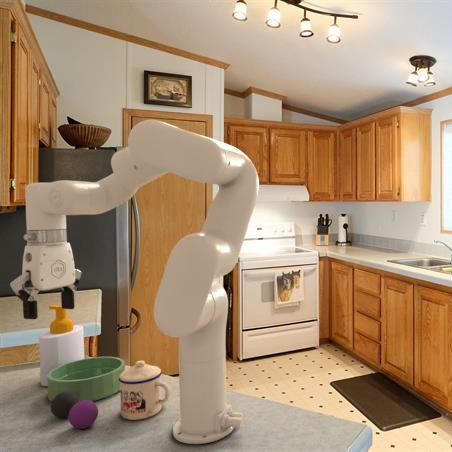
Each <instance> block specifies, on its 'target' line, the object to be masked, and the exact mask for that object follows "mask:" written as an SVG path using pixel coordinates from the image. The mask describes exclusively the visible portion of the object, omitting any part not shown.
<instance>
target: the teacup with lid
mask: <svg viewBox="0 0 452 452" xmlns="http://www.w3.org/2000/svg"><path fill="white" fill-rule="evenodd" d="M162 374H163V373H162V369H161V367H159V366H156V365H151V364H148V363H146V362H145V360H138V361H136V362H135V365H133V366H131V367H130V368H128V369H125V371H124V372H122V373H121V374H120V376H119V381H120V390H119V393H120V415H121V417H122V418H124V419H126V420H130V421H136V420H143V419H147V418H150V417H153V416H154V415H156V414H158V413H159V412H160V411H161V410H162V405H163V404H165V403H166V402H168V400H169V399H170V396H171V387H170V386H169V384H168V383H167V382H165V381H162ZM162 388H163V390H164V391H165V394H164V398H163V399H162Z"/></svg>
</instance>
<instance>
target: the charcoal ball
mask: <svg viewBox="0 0 452 452" xmlns="http://www.w3.org/2000/svg"><path fill="white" fill-rule="evenodd" d="M78 402H79V398H78V396H77V395H76V394H75V393H73V392H70V391H65V392H61V393H59V394H58V395H56V396H55V397H54V399H53V400H52V401H50V406H49V407H50V413H51V414H52V415H53V416H54V417H56V418H58V419H65V418H69V412H70V410H71V408H72V407H73V406H74V405H75V404H76V403H78Z"/></svg>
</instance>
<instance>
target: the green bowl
mask: <svg viewBox="0 0 452 452" xmlns="http://www.w3.org/2000/svg"><path fill="white" fill-rule="evenodd" d="M125 370H126V361H125V360H124V359H123V358H120V357H117V356H93V357H86V358H85V357H84V359H80V360H76V361H72V362H68V363H65V364H62V365H60V366H58V367H56V368H54V369H52V370H51V371H50V372H49V373H48V374H47V386H46V387H47V399H48V400H49V401H50V402H52V400H53V399H54V397H55V396H56V395H58V394H59V393H61V392H65V391H70V392H73V393H75V394H76V395H77V396H78V398H79V402H80V401H83V400H89V401H92V402H96V401H100V400H103V399H105V398H108V397H110V396H112V395H114V394H116V393H117V392H120V381H119V376H120V374H121V373H122V372H124V371H125Z"/></svg>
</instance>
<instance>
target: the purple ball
mask: <svg viewBox="0 0 452 452" xmlns="http://www.w3.org/2000/svg"><path fill="white" fill-rule="evenodd" d="M98 416H99V407H98V406H97V403H95V401H93V402H92V401H89V400H83V401H80V402H78V403H76V404H75V405H74V406H73V407H72V408H71V410H70V412H69V417H68V422H69V424H70V425H71V426H72V427H73V428H74V429H75V428H76V429H81V430H82V429H86V428H88V427H90V426H92V425H93V424H94V423H95V422H96V420H97V419H98Z"/></svg>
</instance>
